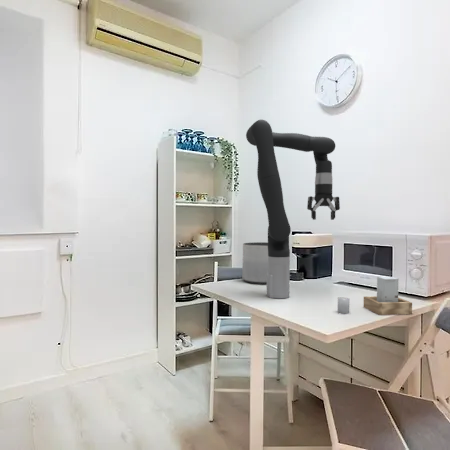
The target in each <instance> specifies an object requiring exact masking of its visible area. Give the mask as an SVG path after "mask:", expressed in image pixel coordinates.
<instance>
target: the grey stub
mask: <svg viewBox="0 0 450 450" xmlns="http://www.w3.org/2000/svg"><path fill="white" fill-rule="evenodd" d="M337 313H338V314H343V315H348V314H350V298H349V297H345V296H341V297H340V296H339V297H337Z"/></svg>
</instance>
